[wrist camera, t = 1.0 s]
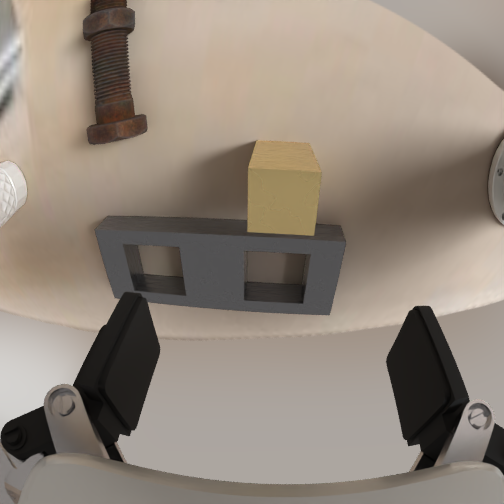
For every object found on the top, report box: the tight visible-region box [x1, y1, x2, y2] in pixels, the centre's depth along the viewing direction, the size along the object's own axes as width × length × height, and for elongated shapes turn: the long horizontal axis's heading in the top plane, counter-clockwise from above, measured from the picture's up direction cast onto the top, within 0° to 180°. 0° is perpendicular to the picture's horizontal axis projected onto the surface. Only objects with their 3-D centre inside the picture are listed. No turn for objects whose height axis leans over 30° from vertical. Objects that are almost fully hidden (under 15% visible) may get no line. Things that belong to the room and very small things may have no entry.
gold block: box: [247, 140, 322, 236], centre depth 23 cm, size 4×4×8 cm
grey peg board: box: [95, 216, 346, 315], centre depth 31 cm, size 24×9×3 cm, turn 89°
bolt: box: [83, 0, 147, 145], centre depth 19 cm, size 6×5×15 cm
